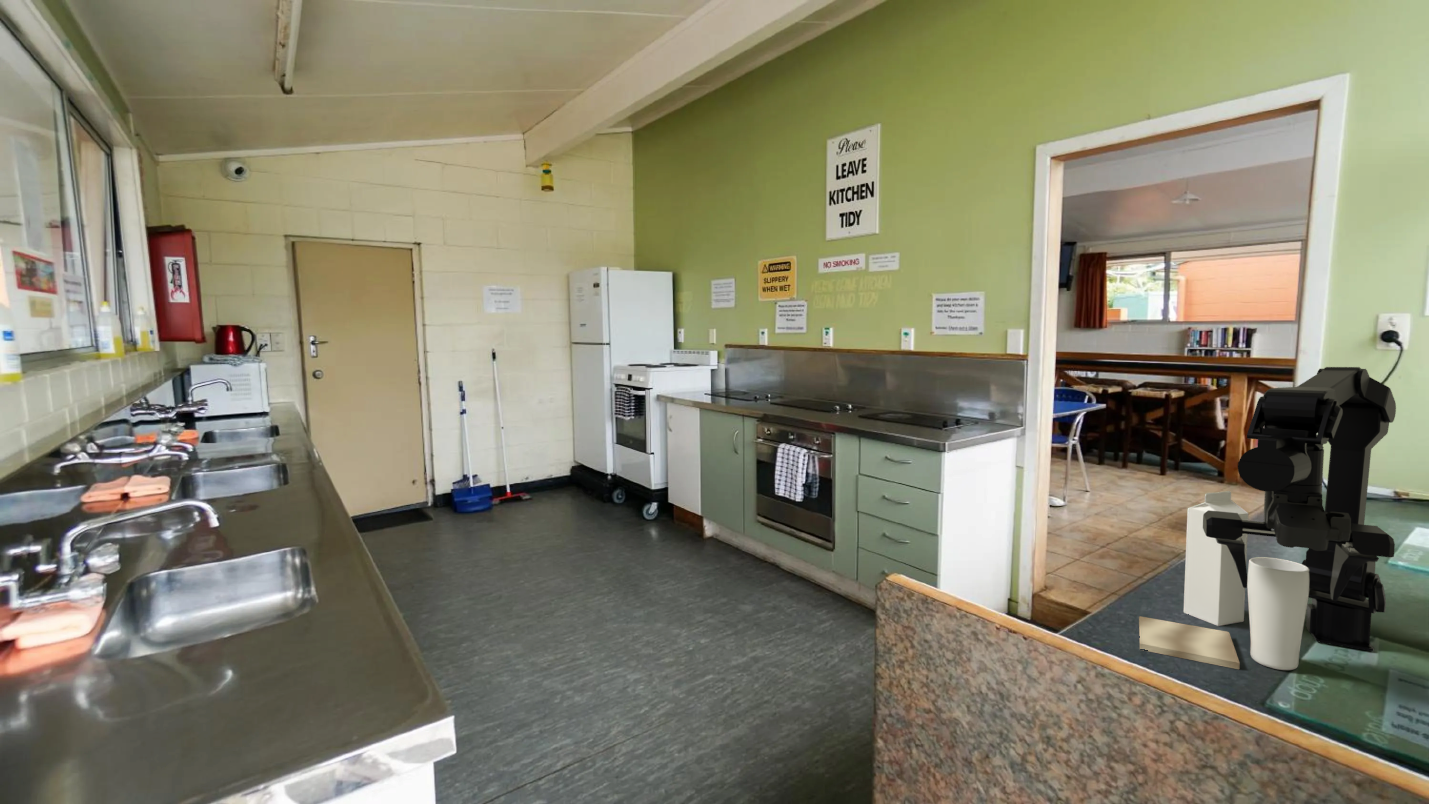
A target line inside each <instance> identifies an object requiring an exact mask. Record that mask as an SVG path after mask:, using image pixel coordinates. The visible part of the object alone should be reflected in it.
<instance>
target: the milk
mask: <svg viewBox="0 0 1429 804" xmlns="http://www.w3.org/2000/svg"><path fill="white" fill-rule="evenodd" d="M1208 510H1210V511H1220V512H1231V513H1238V515H1239V516H1240V518H1241V519H1242V520H1247V521H1249V515H1250V514H1249V512H1247V510H1245V509H1244V508H1243V507H1242V506H1240V505H1239V504H1237V502H1234V501H1233V500H1232V491H1231V490H1227V491H1219V492H1208V493H1205V495H1204V502H1202V503H1199V504H1195V505H1193V506H1190V507H1188V508H1187V512H1186V513H1187V515H1186V536H1185V537H1186V538H1185V539H1186V541H1185V563H1184V564H1185V566H1184V589H1183V590H1184V594H1183V613H1184V614H1185V615H1186V614H1187V615H1188V614H1189V616H1191V617H1194V618H1196V619H1199V620H1202V621H1204V622H1206V623H1209V624H1211V625H1215V626H1216V627H1220V626H1225V625H1226V626H1227V625H1230V624H1231V625H1232V624H1237V623H1242V622H1244V621H1245V619H1244V618H1245V600H1246V588H1243V586H1242V583H1241V580H1240V577H1239V575H1238V572H1237V569H1236V566H1235V563H1234V560H1233V557H1232V555H1231V553H1230V551H1229V549H1228V547H1227V545H1223V544H1219V543H1217V541H1216V539H1215V538H1211V537H1207V536H1206V535H1205V532H1204V530H1203V515H1204V513H1206V512H1207V511H1208ZM1248 536H1249V534H1242V536H1241V538H1242V540H1243V542H1244V544H1245V560H1246V561H1247V554H1248Z"/></svg>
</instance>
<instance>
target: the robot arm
mask: <svg viewBox="0 0 1429 804" xmlns="http://www.w3.org/2000/svg"><path fill="white" fill-rule="evenodd" d="M1391 389H1392V388H1390V387H1389V386H1387V385H1386V384H1384V383H1381V382H1380V381H1378V380H1376V379H1374V378H1373V377H1371V376H1370V375H1369V372H1368V370H1367V368H1361V367H1360V366H1326V367H1324V368H1319V369H1318V370H1317V373H1316V374H1315V375H1314V376H1311V377H1310V378H1309V379H1307V380H1306V381H1304V382H1302V383H1300V384H1299V385H1297V386H1292V387H1291V386H1290V387H1288V386H1287V387H1285V386H1284V387H1275V388H1273V387H1272V388H1268V389H1267V390H1266V391H1265V392H1264V394H1263V395H1262V396H1260V397H1259V398H1258V401H1257V403H1256V406H1255V409H1254V412H1253V415H1252V418H1251V421H1250V424H1249V428H1248V431H1247V434H1246V439H1248V440H1257V447H1253V448H1250V449H1248V450H1246V451H1245V452H1244V453H1243V454H1242V455H1241V457H1240V459H1239V461H1238V462H1237V472H1238V474H1239V477H1240V478H1241V480H1242V481H1243V482H1244V483H1246V485H1247V486H1249V487H1251V488H1253V489H1255V490H1259V491H1260V492H1264V505H1263V521H1258V520H1257V521H1255V520H1248V521H1247V520H1242V519H1241V518H1240V516H1239V515H1238V513H1231V512H1220V511H1210V510H1208V511H1207V512H1206V513H1204V515H1203V530H1204V532H1205V535H1206V536H1207V537H1211V538H1215V539H1216V541H1217V543H1219V544H1223V545H1227V547H1228V549H1229V551H1230V553H1231V555H1232V557H1233V560H1234V563H1235V566H1236V569H1237V572H1238V575H1239V577H1240V580H1241V583H1242V586H1243V588H1245V589H1247V580H1248V569H1247V559H1246V560H1245V544H1244V542H1243V540H1242V538H1241V536H1242V534H1248V535H1254V536H1261V537H1273V538H1274V537H1275V538H1276V539H1275V540H1276V542H1277V544H1278V545H1280V546H1282V547H1285V548H1293V549H1294V548H1302V549H1303V548H1305V549H1307V550H1306V551H1305V559H1303V560H1302V561H1301V564H1302V565H1304V566H1306V567H1308V568H1309V576H1310V585H1309V598H1310V599H1311V603H1308V605H1307V611H1306V617H1305V622H1306V623H1305V627H1306V629H1307V631H1308V633H1309V634H1311V636H1312V637H1313V639H1314V641H1315V642H1318V643H1321V644H1327V645H1332V646H1333V645H1334V646H1339V647H1344V648H1349V649H1356V650H1357V649H1358V650H1361V651H1368V652H1374V650H1375V649H1374V647H1373V645H1372V644H1371V642H1370V641H1371V629H1372V628H1371V627H1372V614H1376V613H1386V608H1387V600H1386V593H1385V588H1384V584H1383V583H1382V581H1381V578H1380V575H1379V574H1378V573H1376V562H1378V561H1379V557H1380V558H1381V557H1382V558H1394V557H1395V549H1396V548H1395V547H1396V546H1395V545H1396V543H1395V540H1394V538H1393V537H1392V536H1391V535H1390V534H1388V533H1387V532H1386V531H1384V529H1381V528H1380V526H1378V525H1373V524H1365V517H1366V508H1367V496H1368V487H1369V486H1368V485H1369V475H1370V468H1371V467H1370V465H1371V458H1372V456H1371V455H1372V449H1373V448H1374V447H1375V446H1376V445H1377V444H1378V443H1379V442H1381V440H1382V439H1384V437H1386V436H1387V435H1388V433H1389V426H1390V423H1393V422H1394V421H1395V417H1396V413H1397V405H1396V400H1395V398H1394V394H1393V392H1392V390H1391ZM1327 443H1329V445H1330V451H1329V461H1328V473H1327V482H1326V494H1325V505H1324V506H1323V501H1324V500H1323V478H1324V477H1323V476H1324V461H1325V460H1324V459H1325V458H1324V456H1325V449H1324V445H1326V444H1327ZM1309 598H1308V599H1309Z"/></svg>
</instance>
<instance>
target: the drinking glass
mask: <svg viewBox="0 0 1429 804" xmlns="http://www.w3.org/2000/svg"><path fill="white" fill-rule="evenodd" d="M1247 568H1248V569H1247V578H1248V580H1247V588H1246V589H1247V590H1246V591H1247V602H1248V603H1247V604H1248V606H1247V607H1248V618H1249V620H1248V622H1249V632H1250V633H1249V636H1250V649H1249V650H1250V653H1249V654H1250V657H1251V659H1252V660H1253V661H1254V662H1256V663H1258V664H1260V665H1261V666H1264V667H1268V668H1270V669H1275V670H1278V671H1279V670H1280V671H1292V670H1295V669H1298V667H1299V663H1300V662H1299V661H1300V653H1301V651H1300V650H1301V644H1302V640H1303V639H1302V638H1303V633H1304V626H1305V622H1306V617H1307V605H1308V604H1309V585H1310V576H1309V568H1308V567H1306V566H1304V565H1302V563H1300V562H1296V561H1293V560H1292V561H1291V560H1287V559H1283V558H1276V557H1264V556H1258V557H1256V556H1255V557H1252V558H1250V559H1249V560H1248V567H1247Z"/></svg>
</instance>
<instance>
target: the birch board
mask: <svg viewBox="0 0 1429 804" xmlns="http://www.w3.org/2000/svg"><path fill="white" fill-rule="evenodd" d="M1138 627H1139V628H1138V630H1139V636H1140V638H1139V650H1140V649H1145V650H1148V651H1147V652H1150V653H1156V654H1161V655H1165V656H1170V657H1175V658H1180V659H1185V660H1190V661H1196V662H1200V663H1204V664H1210V665H1215V666H1221V667H1225V668H1229V669H1235V670H1240V665H1241V664H1240V660H1239V657H1238V655H1237V651H1236V648H1235V646H1234V645H1235V644H1234V642H1233V640H1232V637H1231V634H1230V632H1229V631H1226V630H1220V629H1214V628H1209V627H1203V626H1197V625H1192V624H1185V623H1180V622H1179V623H1178V622H1174V621H1170V620H1163V619H1159V618H1158V619H1157V618H1153V617H1152V618H1151V617H1146V616H1138Z"/></svg>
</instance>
